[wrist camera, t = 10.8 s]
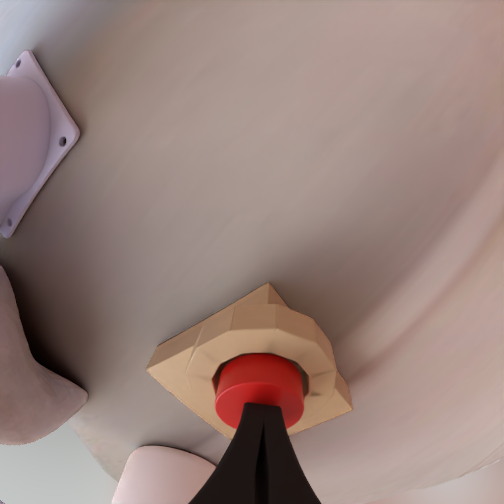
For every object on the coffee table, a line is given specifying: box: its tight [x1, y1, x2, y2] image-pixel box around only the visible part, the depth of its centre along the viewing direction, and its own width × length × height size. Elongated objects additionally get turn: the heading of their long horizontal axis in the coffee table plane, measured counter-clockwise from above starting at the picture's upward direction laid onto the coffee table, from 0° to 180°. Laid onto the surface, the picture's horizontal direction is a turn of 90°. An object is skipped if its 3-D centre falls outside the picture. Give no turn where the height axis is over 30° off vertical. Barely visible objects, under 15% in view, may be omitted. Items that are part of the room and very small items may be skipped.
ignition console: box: [146, 282, 353, 440], centre depth 14 cm, size 9×10×4 cm
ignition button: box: [214, 353, 304, 430], centre depth 11 cm, size 4×4×2 cm
